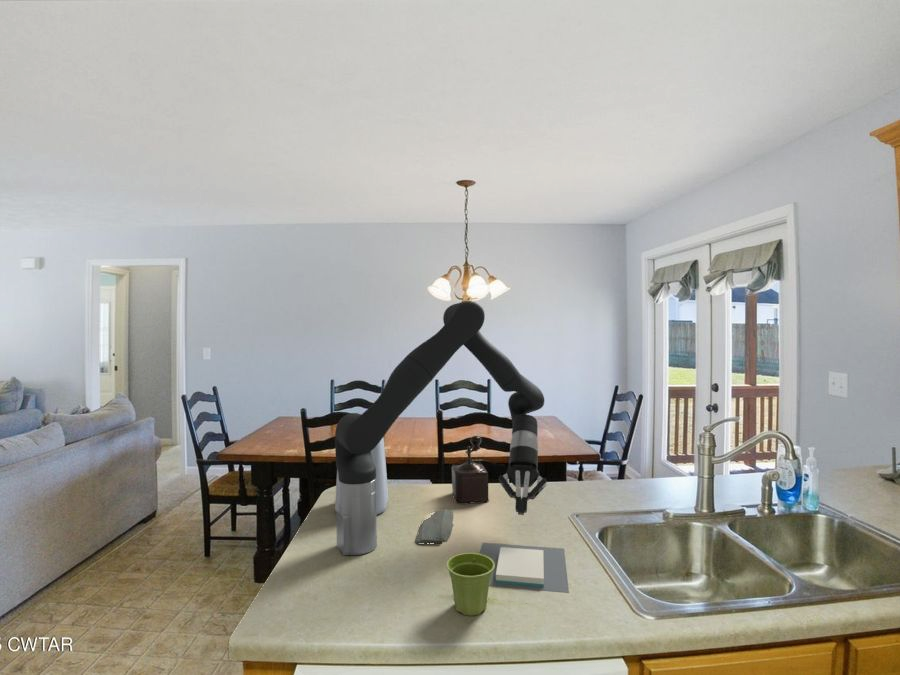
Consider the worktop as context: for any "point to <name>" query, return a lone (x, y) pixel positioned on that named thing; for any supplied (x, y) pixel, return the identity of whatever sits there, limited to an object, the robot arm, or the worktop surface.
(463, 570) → the plant pot
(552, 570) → the rubber mat
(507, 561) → the glazed tile
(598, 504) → the worktop surface
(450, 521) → the stone slab
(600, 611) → the worktop surface
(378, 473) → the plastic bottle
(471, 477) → the brown coffee grinder
